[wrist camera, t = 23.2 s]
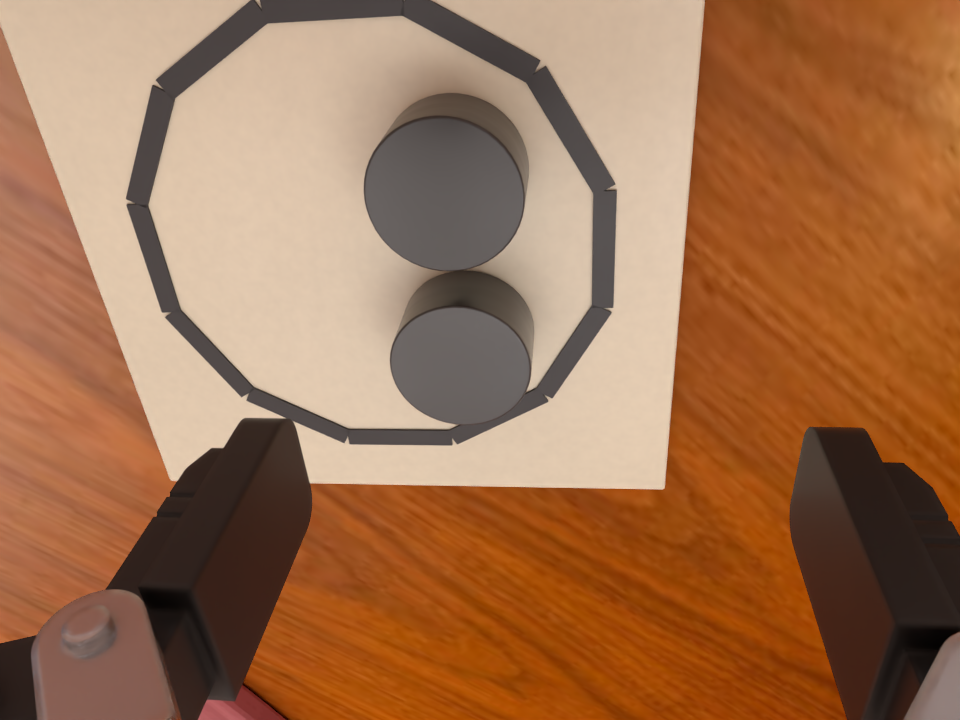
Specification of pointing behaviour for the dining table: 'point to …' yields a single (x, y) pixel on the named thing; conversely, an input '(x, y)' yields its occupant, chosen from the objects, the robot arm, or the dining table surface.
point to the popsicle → (239, 708)
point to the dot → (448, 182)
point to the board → (348, 229)
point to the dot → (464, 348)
